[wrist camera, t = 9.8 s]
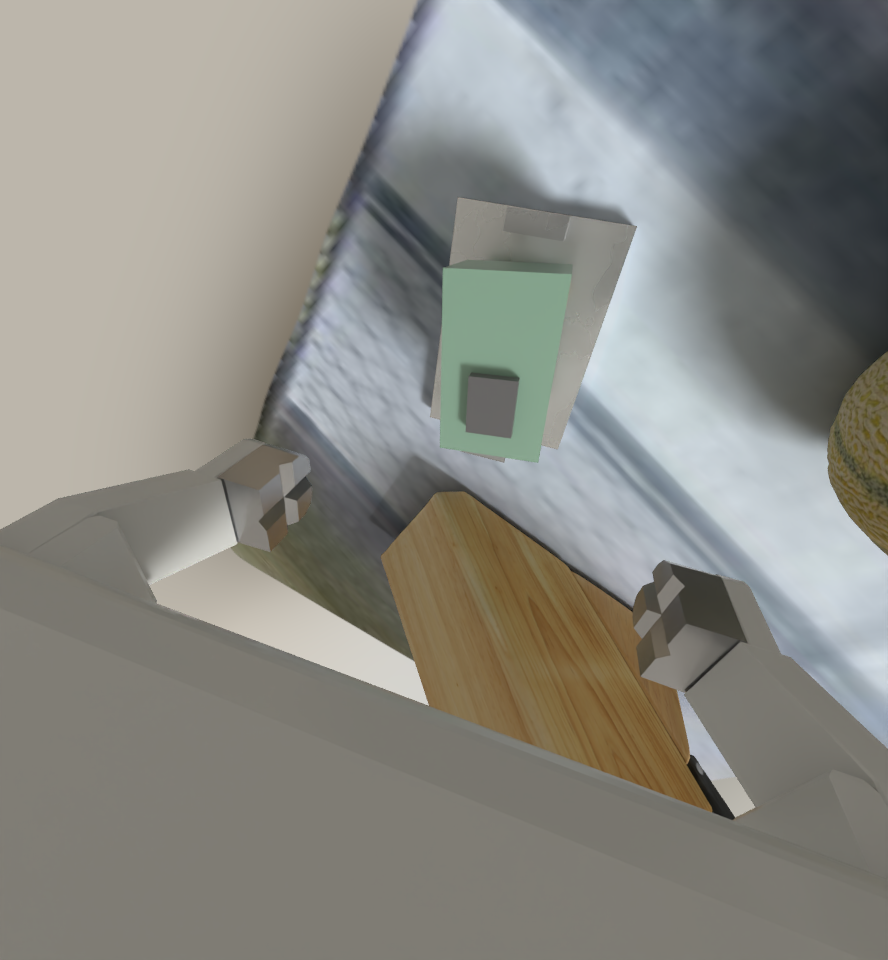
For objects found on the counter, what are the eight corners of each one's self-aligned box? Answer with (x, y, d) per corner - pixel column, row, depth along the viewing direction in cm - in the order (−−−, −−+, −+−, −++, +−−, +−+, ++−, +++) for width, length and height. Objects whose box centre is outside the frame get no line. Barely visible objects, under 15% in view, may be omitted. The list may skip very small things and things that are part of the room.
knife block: (640, 712, 45) (723, 1325, 20) (390, 538, 41) (98, 1033, 16) (735, 681, 38) (1039, 1544, 13) (447, 470, 34) (102, 1138, 9)
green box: (467, 259, 21) (438, 269, 17) (572, 264, 20) (571, 276, 15) (460, 413, 26) (436, 452, 22) (544, 424, 25) (537, 468, 20)
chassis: (462, 198, 23) (437, 192, 19) (634, 226, 22) (648, 226, 17) (434, 411, 31) (412, 439, 27) (558, 442, 30) (555, 477, 26)
